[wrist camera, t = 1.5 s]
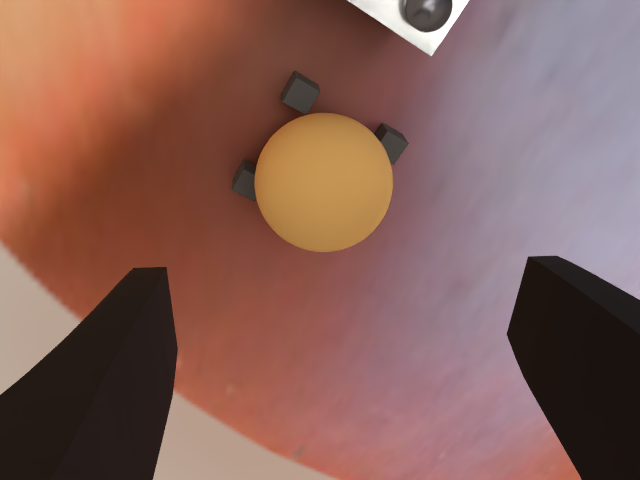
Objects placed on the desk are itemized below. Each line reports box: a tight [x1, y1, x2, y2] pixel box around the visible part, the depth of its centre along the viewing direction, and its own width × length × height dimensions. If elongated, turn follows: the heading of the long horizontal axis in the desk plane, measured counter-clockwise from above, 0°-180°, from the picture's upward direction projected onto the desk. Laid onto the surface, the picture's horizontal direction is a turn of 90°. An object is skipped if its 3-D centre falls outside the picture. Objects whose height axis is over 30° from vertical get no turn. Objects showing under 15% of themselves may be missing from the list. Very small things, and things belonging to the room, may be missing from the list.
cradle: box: [232, 71, 409, 201], centre depth 17 cm, size 4×4×1 cm
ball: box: [254, 113, 393, 252], centre depth 15 cm, size 4×4×4 cm
